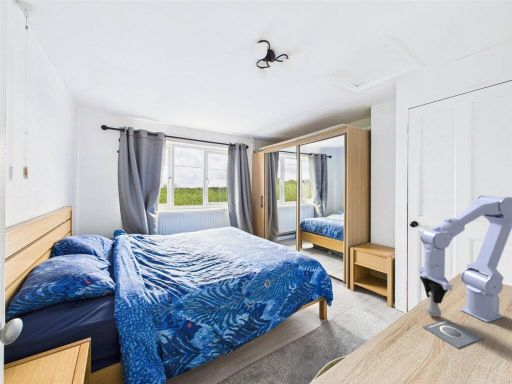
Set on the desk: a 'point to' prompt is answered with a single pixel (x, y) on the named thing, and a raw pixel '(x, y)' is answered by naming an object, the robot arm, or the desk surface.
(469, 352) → the desk surface
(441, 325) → the grey base plate
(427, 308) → the rook chess piece
